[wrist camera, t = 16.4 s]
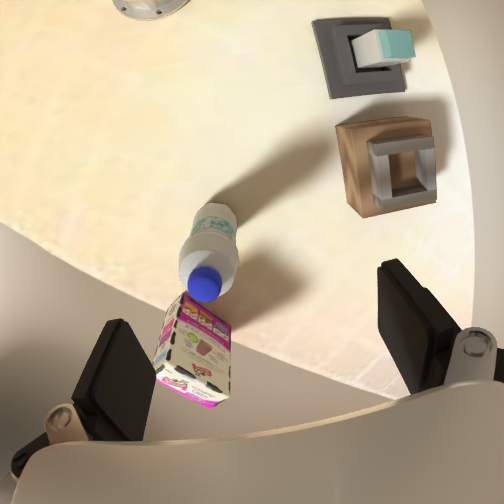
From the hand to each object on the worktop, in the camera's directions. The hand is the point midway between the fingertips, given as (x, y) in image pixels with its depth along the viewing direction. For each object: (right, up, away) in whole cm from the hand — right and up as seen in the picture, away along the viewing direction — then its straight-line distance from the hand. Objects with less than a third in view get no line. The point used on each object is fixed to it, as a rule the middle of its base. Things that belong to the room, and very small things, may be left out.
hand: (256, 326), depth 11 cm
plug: (+15, +30, +25) cm, 42 cm away
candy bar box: (-9, -9, +45) cm, 46 cm away
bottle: (-6, +8, +37) cm, 38 cm away
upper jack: (+19, +17, +33) cm, 42 cm away
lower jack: (+15, +31, +26) cm, 43 cm away
